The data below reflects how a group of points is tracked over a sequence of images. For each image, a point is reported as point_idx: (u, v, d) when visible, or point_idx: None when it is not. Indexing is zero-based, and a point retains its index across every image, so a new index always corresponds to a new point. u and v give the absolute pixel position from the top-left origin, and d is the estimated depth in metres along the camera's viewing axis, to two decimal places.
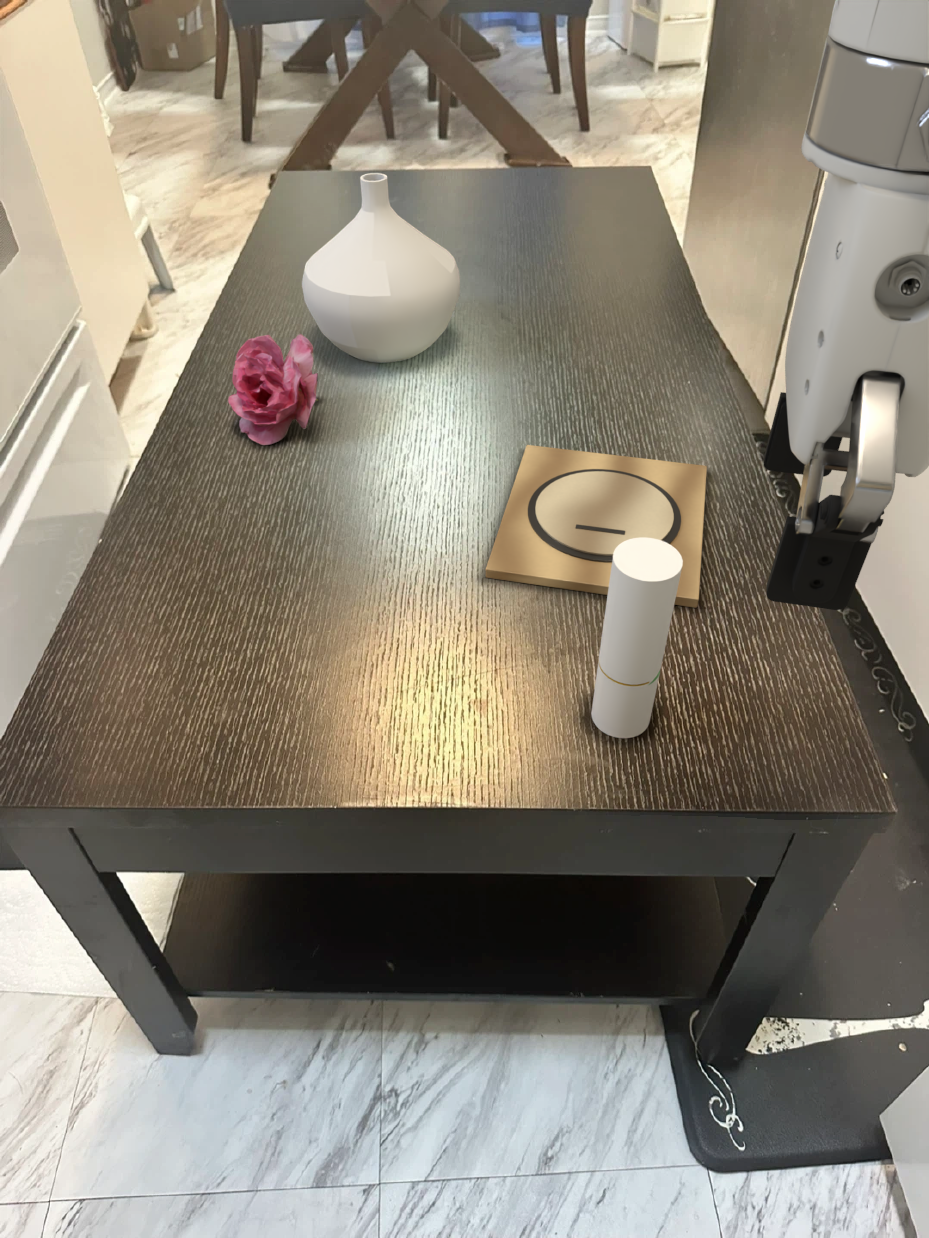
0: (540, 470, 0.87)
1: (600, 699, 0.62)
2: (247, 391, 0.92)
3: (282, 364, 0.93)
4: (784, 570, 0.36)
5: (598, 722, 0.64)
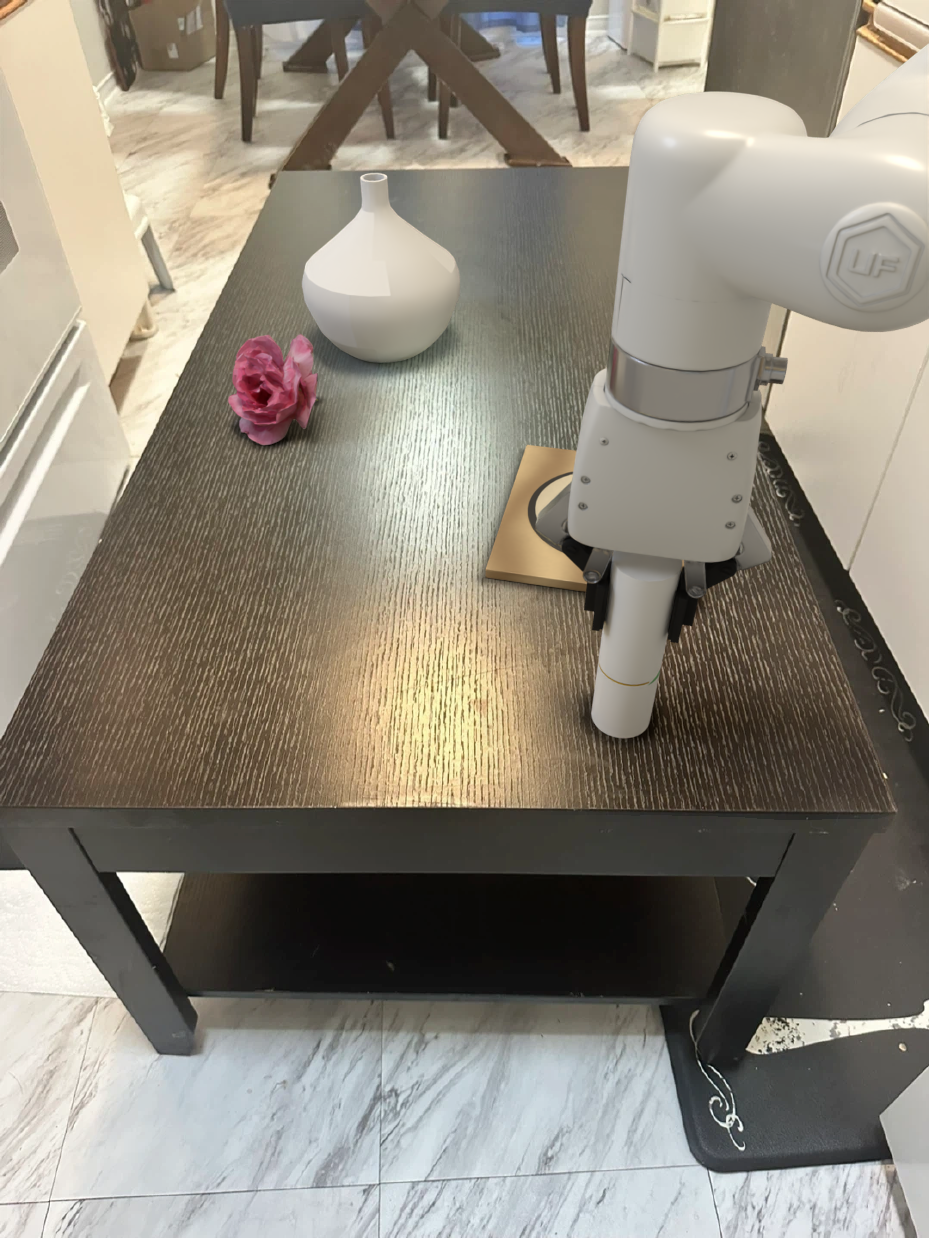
0: (540, 470, 0.87)
1: (600, 699, 0.62)
2: (247, 391, 0.92)
3: (282, 364, 0.93)
4: None
5: (598, 722, 0.64)
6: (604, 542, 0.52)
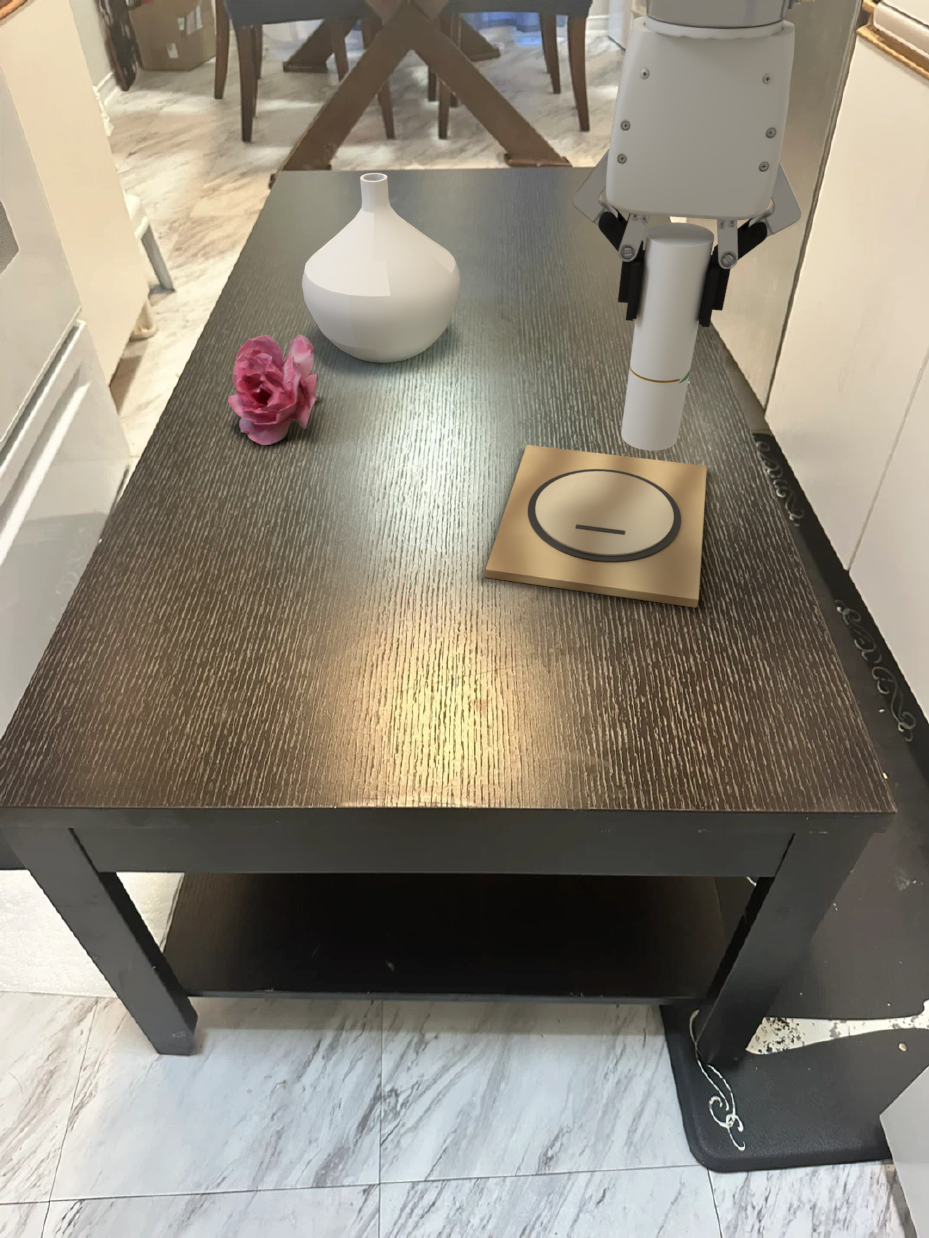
0: (540, 470, 0.87)
1: (631, 407, 0.65)
2: (247, 391, 0.92)
3: (282, 364, 0.93)
4: (713, 302, 0.59)
5: (628, 437, 0.66)
6: (641, 202, 0.55)
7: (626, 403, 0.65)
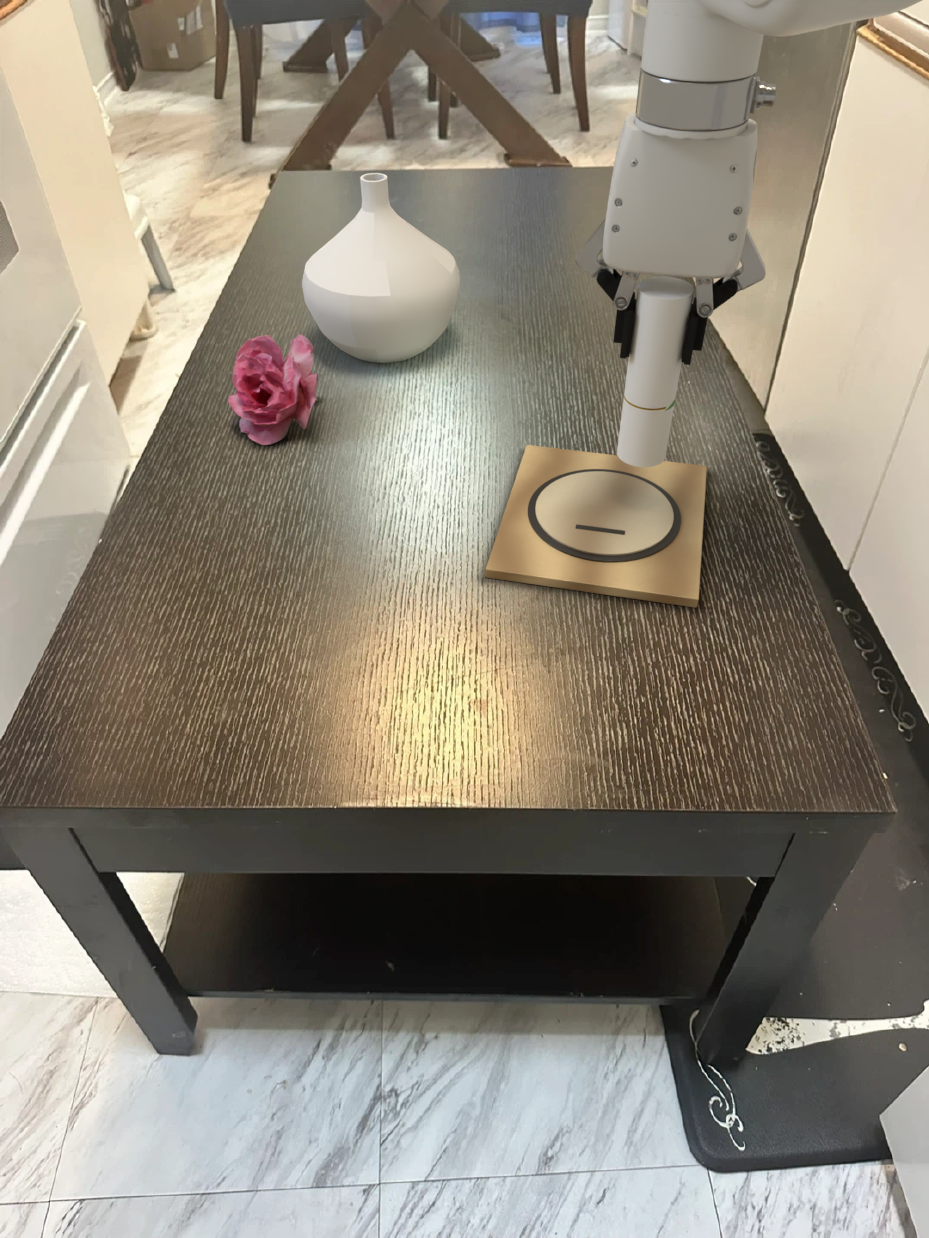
0: (540, 470, 0.87)
1: (625, 430, 0.76)
2: (247, 391, 0.92)
3: (282, 364, 0.93)
4: (693, 344, 0.70)
5: (623, 455, 0.77)
6: (632, 263, 0.66)
7: (621, 426, 0.76)
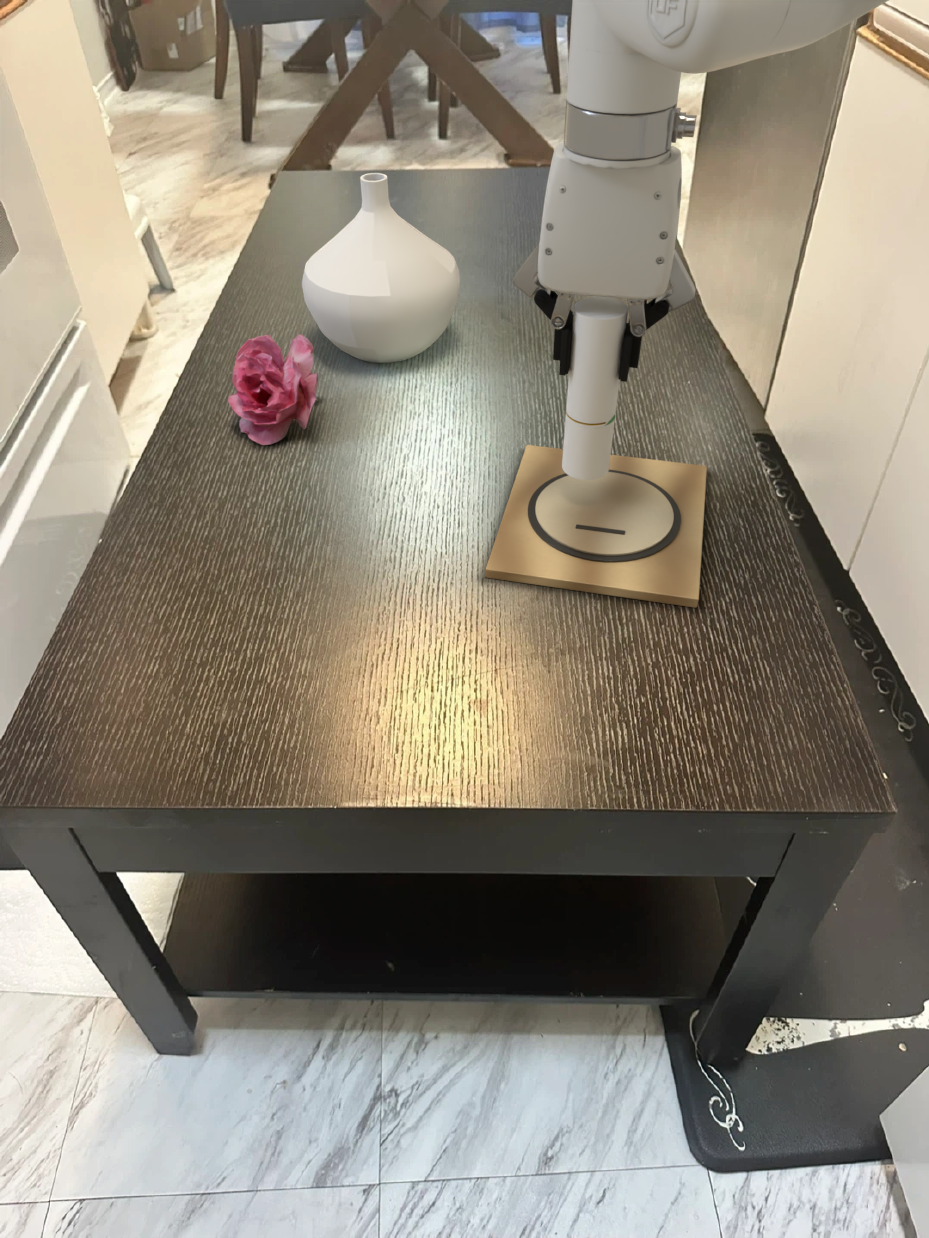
0: (540, 470, 0.87)
1: (568, 444, 0.78)
2: (247, 391, 0.92)
3: (282, 364, 0.93)
4: (629, 362, 0.72)
5: (567, 468, 0.80)
6: (566, 285, 0.68)
7: (564, 440, 0.79)
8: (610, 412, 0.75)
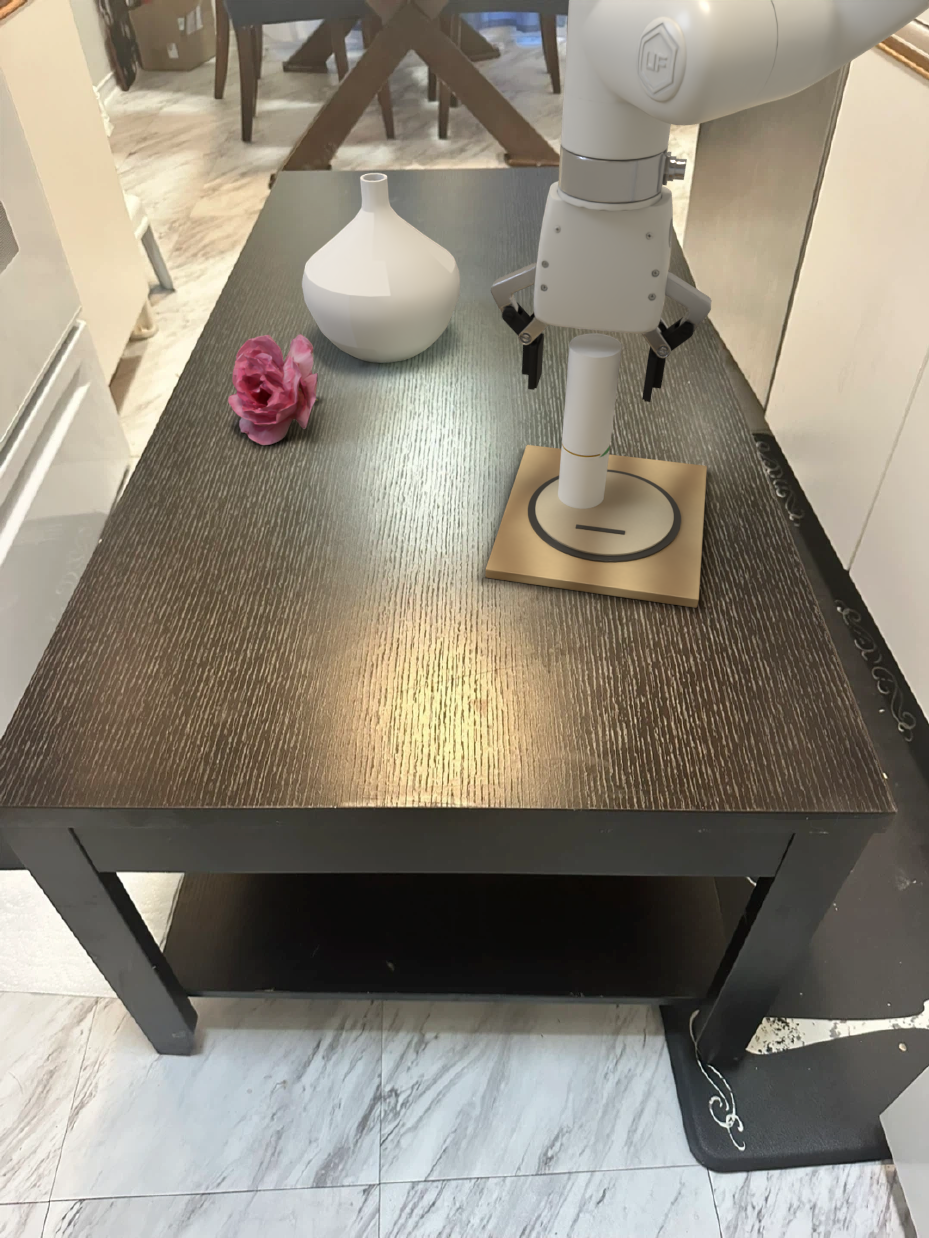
0: (540, 470, 0.87)
1: (563, 474, 0.80)
2: (247, 391, 0.92)
3: (282, 364, 0.93)
4: (653, 382, 0.72)
5: (562, 497, 0.82)
6: (560, 319, 0.70)
7: (560, 470, 0.81)
8: (604, 444, 0.77)
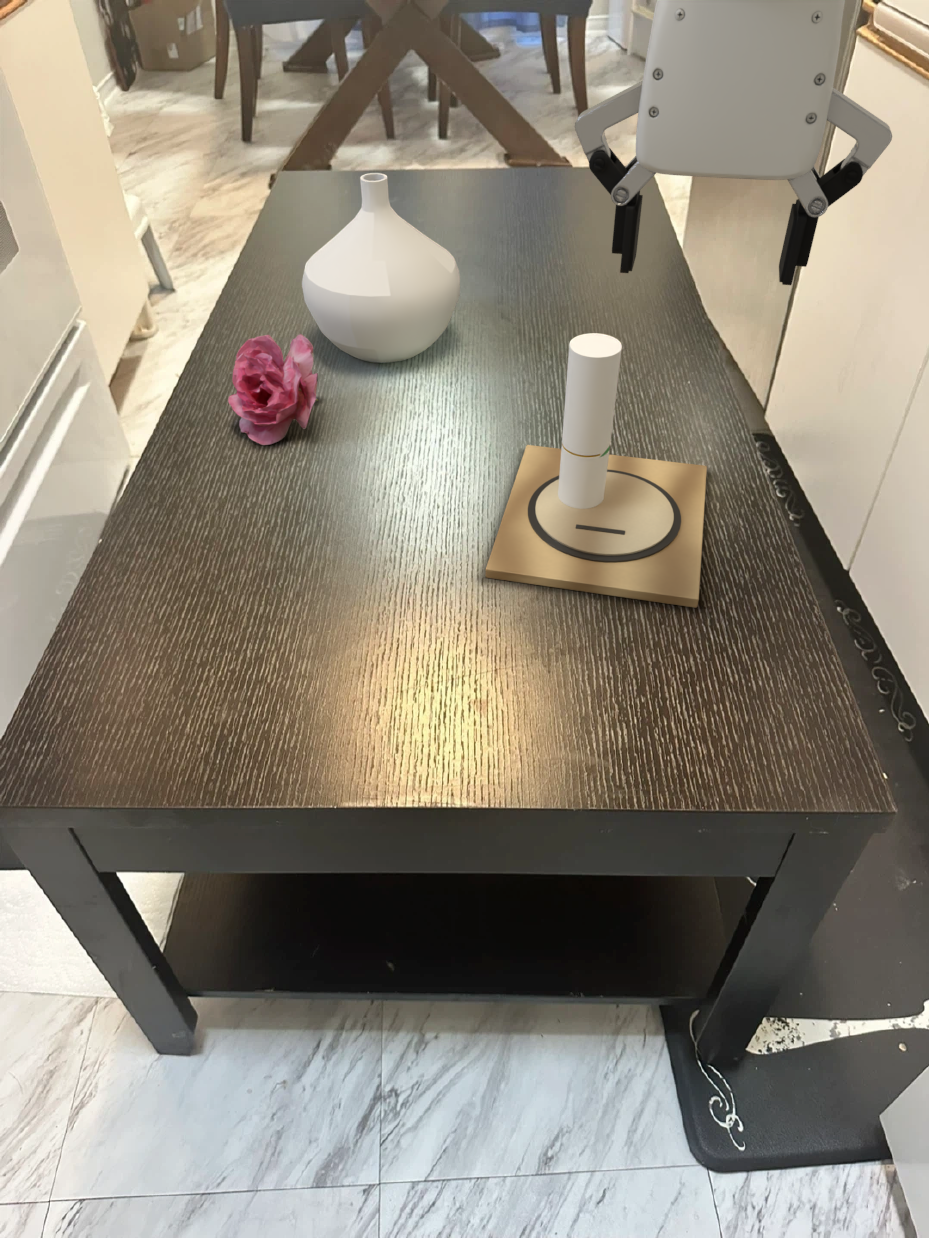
0: (540, 470, 0.87)
1: (563, 474, 0.80)
2: (247, 391, 0.92)
3: (282, 364, 0.93)
4: None
5: (562, 497, 0.82)
6: (674, 161, 0.50)
7: (560, 470, 0.81)
8: (604, 444, 0.77)
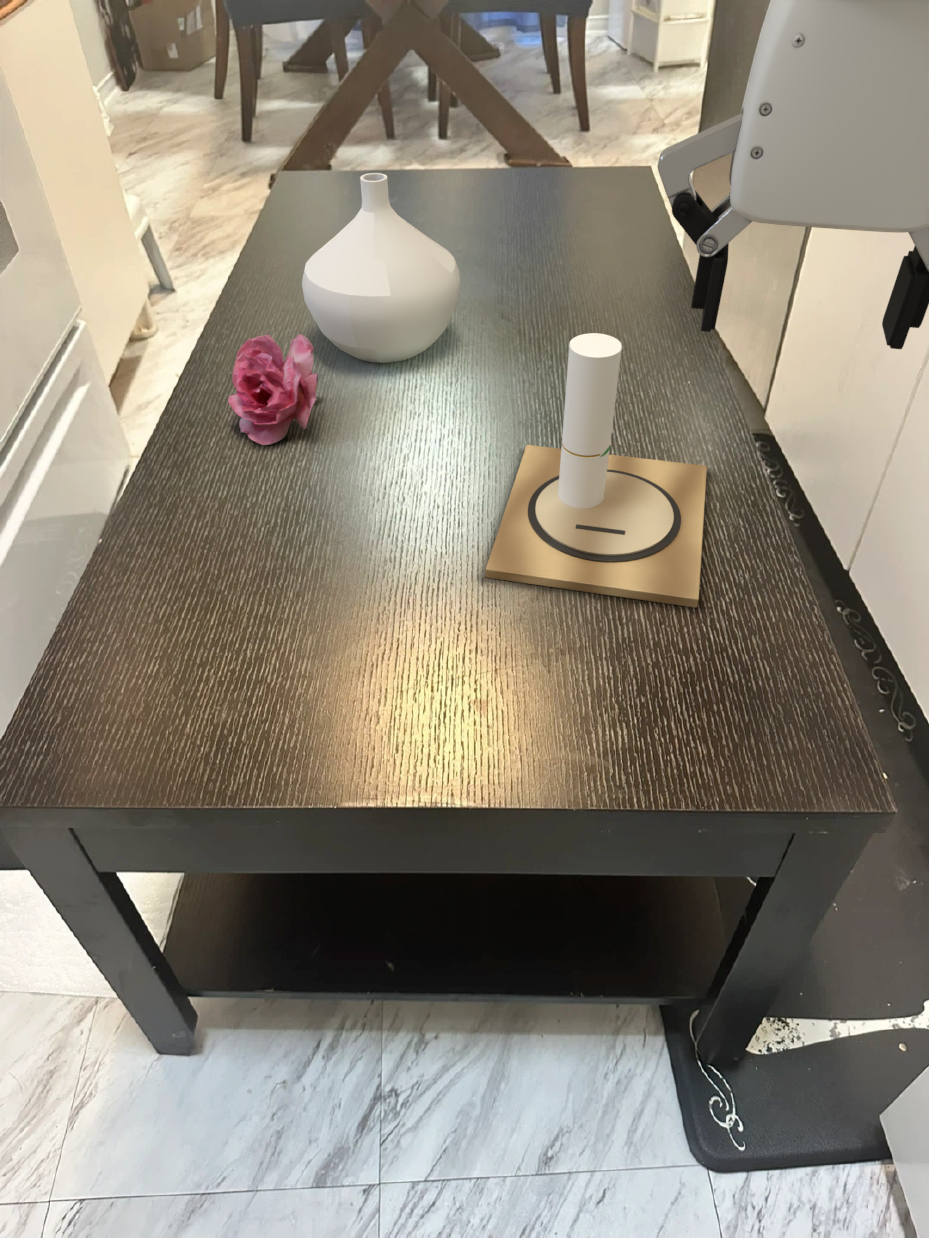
0: (540, 470, 0.87)
1: (563, 474, 0.80)
2: (247, 391, 0.92)
3: (282, 364, 0.93)
4: None
5: (562, 497, 0.82)
6: (777, 209, 0.43)
7: (560, 470, 0.81)
8: (604, 444, 0.77)
